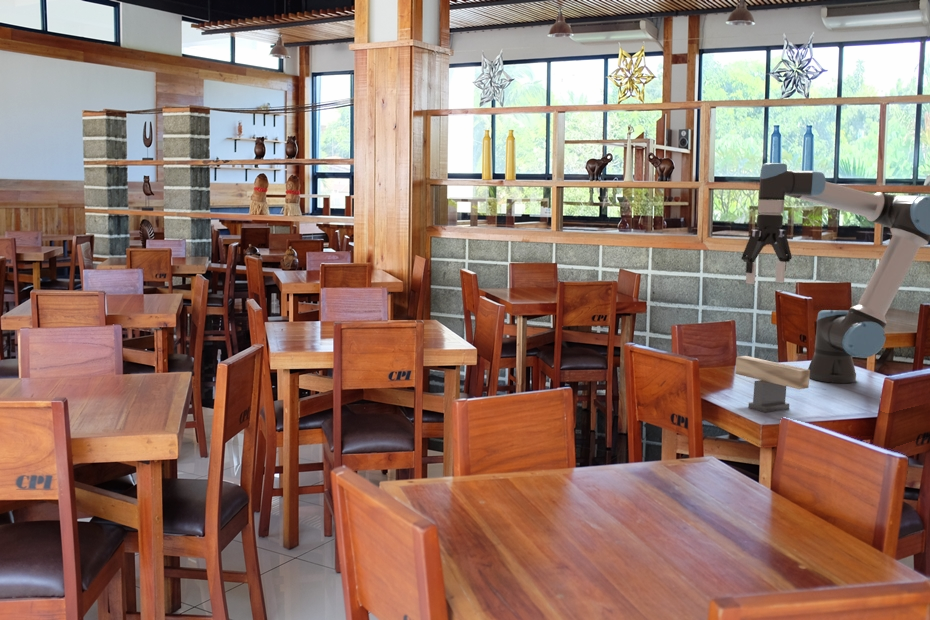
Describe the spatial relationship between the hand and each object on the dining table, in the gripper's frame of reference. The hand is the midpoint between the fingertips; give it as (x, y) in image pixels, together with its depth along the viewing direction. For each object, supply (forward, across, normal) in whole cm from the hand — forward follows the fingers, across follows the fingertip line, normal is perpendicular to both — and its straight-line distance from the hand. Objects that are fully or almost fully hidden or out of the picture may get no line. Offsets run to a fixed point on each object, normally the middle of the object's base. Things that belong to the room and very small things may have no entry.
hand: (765, 283), depth 281 cm
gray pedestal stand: (+33, +20, +21) cm, 44 cm away
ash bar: (+25, +20, +21) cm, 38 cm away
